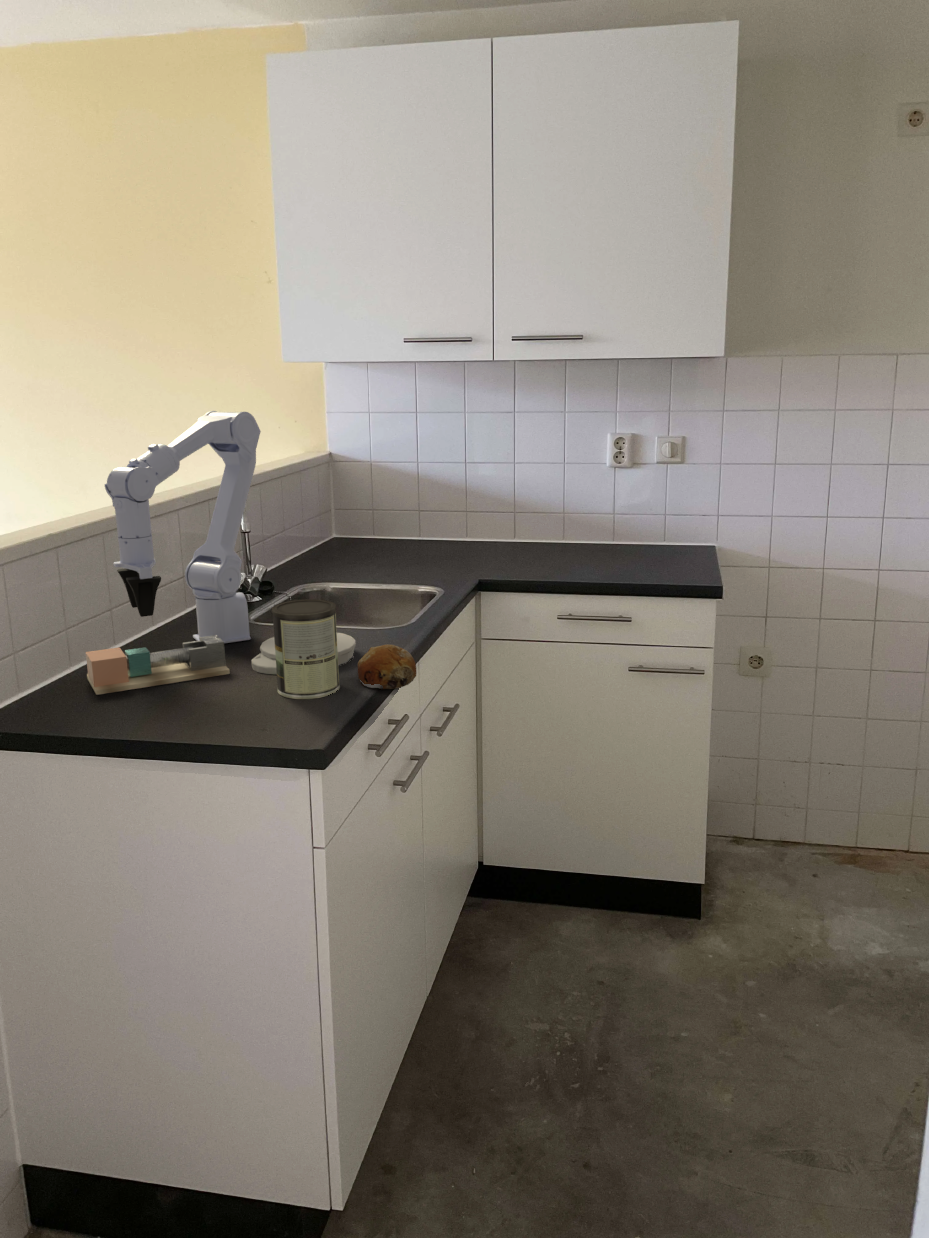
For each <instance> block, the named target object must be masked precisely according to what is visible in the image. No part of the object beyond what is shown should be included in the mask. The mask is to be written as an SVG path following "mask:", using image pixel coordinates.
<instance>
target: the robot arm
mask: <svg viewBox="0 0 929 1238" xmlns="http://www.w3.org/2000/svg"><path fill="white" fill-rule="evenodd" d="M261 432H262V431H261V429H260V427H259V425H258V423H257V420H256V418H255V417H254V416H253V414H251V413H250V412H249V411H240V412H238V411H237V412H236V411H216V410H210V411H207V412H206V413H204V415H201V416H199V417H198V418H197V420H196V422H195V423H194V424H193V425H192V426H190V427H189V428H188V429H186V430H185V431H184V432H182V434H180V435H179V436H178V437H176V438H175V439H173V440H172V442H170V443H169V444H167V445H166V444H163V443H157V444H156V443H152V444H150V445H148V446H147V451H145V452H144V453H142V454H141V455H140V456H138V457H137V458H131V459H130V460H128V464H127V466H118V467H115V468H113V469H112V470H111V471H110V473H109V474H108V476H107V480H106V483H104V489H105V491H106V493H107V495H108V496H109V498H111V502H112V507H113V508H114V513H115V521H116V522H115V523H116V524H115V525H116V531H117V532H116V533H117V541H118V549H119V550H118V552H119V561H114V562H113V563H112V564H113V567H114V568H119V569H117V570H116V572H117V573H118V575H119V576H120V578H121V580H122V582H123V585H124V587H125V589H126V593H127V597H128V599H129V602H130V605H131V607H132V609H133V608H137V611H138V614H139V616H140V617H141V618H144V617H150V616H153V615H154V612H155V605H156V603H155V602H156V598H157V597H156V595H157V591H158V588H159V585H160V583H161V581H162V577H161V576H160V575H154V576H153V570H152V569H153V567H155V565H156V563H157V562H156V558H155V553H154V544H153V534H152V533H153V531H152V521H151V520H152V519H151V510H150V500H149V499H152V497H153V495H154V494H155V490H156V488H157V487H158V486H159V485H160V484H162V483H163V482H164V481H166V480H167V479H168V478H170V477H171V476H173V475H174V474H175V473H177V472H178V471H179V469H180V465H181V464H180V462H181V461H182V460H184V459H186V458H187V457H189V456H191V455H192V454H194V453H195V452H197V451H199V450H200V449H202V448H203V447H206V446H207V445H209V446H210V447H211V448H212V449H213V451H214V452H215V453H216V454H217V455H218V456H219V458H221V459H222V461H223V463H224V469H223V474H222V478H221V481H220V486H219V490H218V493H217V498H216V500H215V505H214V509H213V513H212V517H211V521H210V524H209V527H208V532H207V536H206V540H205V542H204V543H203V544H202V545H200V546H199V547H198V548H196V550H194V551H193V556H192V559H191V560H190V562H189V563H188V564H187V565H186V568H185V570H184V580H185V581H184V582H185V583H186V586H187V587H188V588H190V590H192V595H193V596H195V597H194V600H195V609H196V610H195V611H196V612H195V613H196V621H197V634H192V638H193V639H194V641H199V637H204V636H212V635H217V636H218V637H219V638H220V639H221V640H223V641H224V644H228V643H236V642H242V641H249V640H251V639H252V638H251V636H250V635H251V634H250V622H249V620H250V619H249V609H248V607H249V606H248V602H247V599H246V596H245V594H244V592H240V591H239V592H237V591H238V590H239V588H240V586H241V582H242V573H241V571H242V565H243V564H242V563H243V560H242V559H241V557H240V555H239V554H238V553H237V552H236V550H235V548H236V543H237V540H238V536H239V532H240V527H241V524H242V520H243V515H244V513H245V507H246V503H247V502H248V501H247V500H248V496H249V493H250V492H249V491H250V489H251V485H252V481H253V477H254V473H255V469H256V464H257V446H258V444H259V439H260V436H261Z"/></svg>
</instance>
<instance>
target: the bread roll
mask: <svg viewBox="0 0 929 1238" xmlns="http://www.w3.org/2000/svg"><path fill="white" fill-rule="evenodd" d="M357 675H358V680H359V679H360V680H361V681H362V682H363V683H364V684H371V685H374V684H380V685H382V686H383V689H382V690H393V689H400V688H404V687H406V686H409V684H411V683H412V682H413V681H414V679H415V678H416V677H417V664H416V661H415V659H414V657H413V656H412V654H411V653H410V652H409V651H408V650H406V649H405V648H403V647H401V646H398V645H395V644H388V643H387V644H383V645H377V646H371V647H370V648H369V649H368V651H367V652H366V653H364V655H363V656H362V657H361V658H360V659H359V660H358V662H357Z"/></svg>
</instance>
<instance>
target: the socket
mask: <svg viewBox="0 0 929 1238" xmlns="http://www.w3.org/2000/svg"><path fill="white" fill-rule="evenodd" d="M85 659H86V667H87V668H86V669H87V674H88V677H89V679H90V681H91V682H92V684H93V686H94V687H99V686H105V685H112V684H118V683H125V682H129V678H128V669H127V659H126V656H125V652H124V651H123V650H122V649H121V647H119V646H118V647H113V648H106V649H99V650H98V649H97V650H92V651H91V650H90V651H85Z"/></svg>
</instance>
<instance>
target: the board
mask: <svg viewBox="0 0 929 1238" xmlns="http://www.w3.org/2000/svg"><path fill="white" fill-rule="evenodd" d="M151 672H152V674H147V675H141V676H134V677H130V676H129V674H128V678H129V682H125V683H118V684H112V685H105V686H99V687H94V686H93V684H92V682H91V681H90V679H89V677H88V673H86V679H87V681H88V682H89V684H90V686H91V688H92V689H93V691H94V693H95V695H97V696H98V695H104V694H111V693H117V692H123V691H128V690H135V689H137V690H138V689H142V688H148V687H155V686H156V687H157V686H161V685H168V684H175V683H179V682H181V683H182V682H187V681H192V680H193V681H194V680H201V679H205V678H213V677H218V676H225V675H229V674H230V673H231V672H230V668H228V666H227V665H226V666H222V667H215V668H209V669H202V670H196V671H191V670H190V669H189V668H188V667H187V666H186V665H185V664H184V663H182V664H175V665H168V666H162V667H155V668H151Z"/></svg>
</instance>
